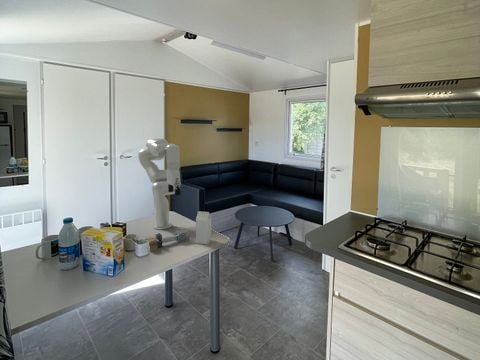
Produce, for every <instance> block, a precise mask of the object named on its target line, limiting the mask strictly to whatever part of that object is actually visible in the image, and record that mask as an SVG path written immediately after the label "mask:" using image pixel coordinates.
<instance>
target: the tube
mask: <svg viewBox="0 0 480 360" xmlns="http://www.w3.org/2000/svg"><path fill="white" fill-rule="evenodd" d="M154 236H155V237H154V238H155V239H156V240H157V248H161V247H163V244H167V243H170V242H175V240H178V235H177V234H176V235H175V234H172V235H169V236H165V237H163V235H162V234H161V233H160V232H157V233H155V235H154Z"/></svg>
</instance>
